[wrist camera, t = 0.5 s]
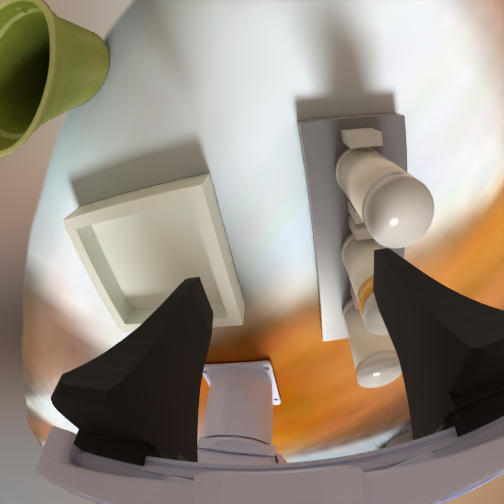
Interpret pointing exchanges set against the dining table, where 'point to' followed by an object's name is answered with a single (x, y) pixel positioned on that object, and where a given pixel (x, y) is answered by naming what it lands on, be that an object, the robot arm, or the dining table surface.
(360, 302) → the cylinder
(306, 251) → the dining table surface
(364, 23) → the dining table surface
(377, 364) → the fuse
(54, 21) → the plant pot
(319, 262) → the fuse holder
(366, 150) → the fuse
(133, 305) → the tray
